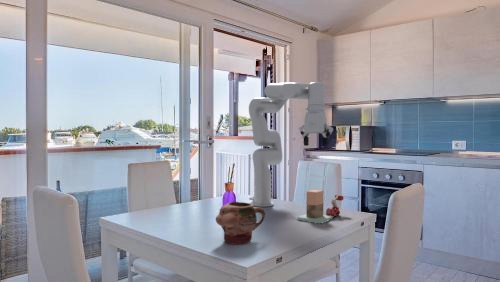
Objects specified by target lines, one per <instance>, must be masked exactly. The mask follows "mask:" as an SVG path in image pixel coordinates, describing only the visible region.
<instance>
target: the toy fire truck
mask: <svg viewBox="0 0 500 282" xmlns="http://www.w3.org/2000/svg"><path fill="white" fill-rule="evenodd" d="M343 200H344V196H343V195H338V194H337V195H336V194H335V195H334V199H332V200H331V201H330V202H331V205H332V207H331V208H330V207H328V208H326V211H325V213H326V214H325V215H328V216H333V217H334V216H337V215H339V214H340V215H341V211H340V208H339V207H338V205H337V202H336V201H343ZM340 215H339V216H340ZM337 217H338V216H337ZM334 218H335V217H334Z"/></svg>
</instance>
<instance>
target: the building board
mask: <svg viewBox="0 0 500 282" xmlns="http://www.w3.org/2000/svg"><path fill="white" fill-rule="evenodd" d="M306 216H307V213H304V214H301V215H299V216H297V217H296V218H297V219H296V220H297V221H300V220H303V221H302V222H305V221H310V222H309V223H311V222H316V223H315V224H317V223H322V222H325V221H327V220H330V219H332V218H333V216H328V215H326V214H323V216H322V217H319V218H310V217H306ZM333 219H334V218H333ZM333 219H332V220H333ZM330 221H331V220H330ZM327 222H328V221H327ZM325 223H326V222H325ZM322 224H323V223H322Z"/></svg>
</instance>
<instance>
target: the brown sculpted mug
mask: <svg viewBox="0 0 500 282" xmlns="http://www.w3.org/2000/svg"><path fill="white" fill-rule="evenodd" d="M258 213H259V214H260V215H261V219H260V220H259V221H258V222H257V214H258ZM265 219H266V211H265V210H264V208H263V207H258V206H253V205H252V204H251V203H248V202H244V201H243V202H241V201H231V202H228V203H225V204H224V205H222V206H221V207H220V208H219V213H218V215H216V217H215V221H216V224H217V225H218V226H220V227H221V229H222V230H223V240H224V241H225V243H229V244H232V245H245V244H249V243H250V242H251V240H252V237H253V231H255V230H256V229H257V228H259V227H260V226H261V225H262V223H263V222H264V221H265Z"/></svg>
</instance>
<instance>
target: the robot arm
mask: <svg viewBox="0 0 500 282" xmlns="http://www.w3.org/2000/svg"><path fill="white" fill-rule="evenodd" d="M325 87H326V85H325V83H324V82H321V81H313V82H310V83H305V82H279V83H278V82H277V83H275V82H273V83H269V84H267V85H266V87H264V94H265V96H266V97H254V98H252V99H251V100H250V102H249V104H248V113H249V117H250V120H251V128H252V129H251V130H252V137H253V138H252V139H253V143H254V145H255V146H257V147H261V148H258V149H256V150H254V151H253V152H252V163H253V172H254V173H253V174H254V176H253V177H254V178H253V179H254V181H253V195H250V196H249V197H248V200H249V201H251V203H250V204H252V205H253V206H254V207H260V208H266V207H272V206H274V203H275V202H273V201H272V171H271V170H270V167H269V166H277V165H279V164H281V163H282V161H283V148H282V140H281V135H280V133H279V132H278V131H277V130H276V129H268V125H267V124H268V122H267V119H266V118H265V116H264V115H263V114H277V113H279V112H280V110H281V109H282V108H283V107H284V105H285V104H286V103H287V102H288V100H290V99H297V100H307V106H306V107H305V111H306V110H307V111H306V113H305V115H304V116H305V117H304V121H303V125H302V126H300V127H299V128H298V130H299V132H300V135H301V136H302V138H303V145H304V146H305V147H306V146H309V145H310V143H309V141H310V137H309V135H310V134H321V135H322V147H327V146H328V142H329V137H330V136H331V135H332V133H333V131H334V128H333V127H332V126H330V125H329V124H328V119H327V118H328V117H327V113H326V112H325V97H326V95H325V93H326V91H325V89H326V88H325ZM327 131H328V132H327ZM262 147H265V148H262ZM266 147H269V148H266Z"/></svg>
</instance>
